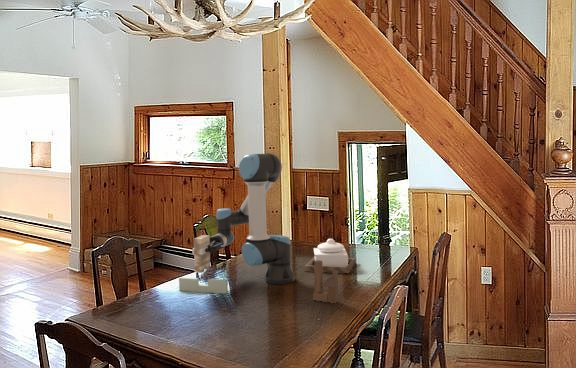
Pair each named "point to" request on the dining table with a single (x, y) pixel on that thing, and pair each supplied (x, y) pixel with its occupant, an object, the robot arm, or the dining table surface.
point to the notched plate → (200, 260)
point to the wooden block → (325, 285)
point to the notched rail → (194, 285)
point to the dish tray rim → (347, 269)
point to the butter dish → (331, 254)
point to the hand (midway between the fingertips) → (197, 251)
